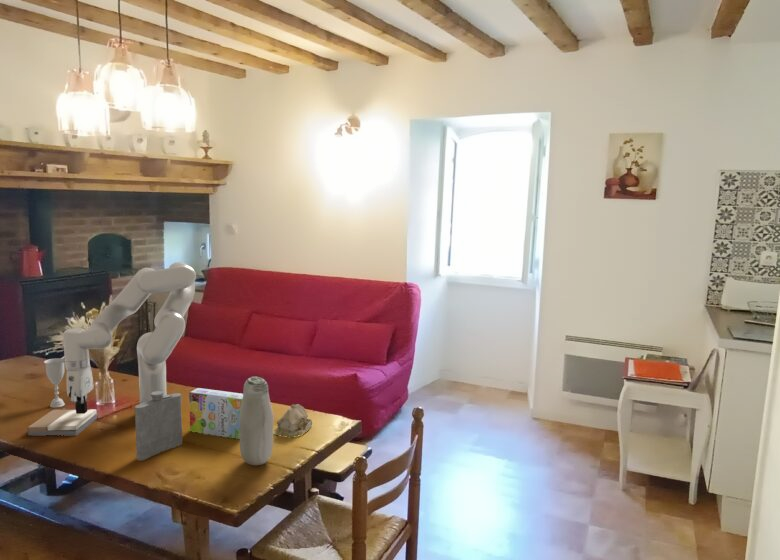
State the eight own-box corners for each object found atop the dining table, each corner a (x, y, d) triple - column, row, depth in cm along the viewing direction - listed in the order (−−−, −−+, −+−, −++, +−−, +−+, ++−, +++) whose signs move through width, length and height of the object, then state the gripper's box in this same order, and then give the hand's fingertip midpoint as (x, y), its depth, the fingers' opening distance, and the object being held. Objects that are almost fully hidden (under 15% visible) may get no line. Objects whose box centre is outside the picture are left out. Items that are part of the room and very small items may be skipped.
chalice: (71, 402, 221) (69, 358, 218) (60, 408, 214) (57, 364, 211) (54, 401, 221) (52, 357, 219) (42, 407, 215) (39, 362, 212)
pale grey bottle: (279, 462, 177) (279, 378, 172) (251, 473, 169) (251, 385, 165) (260, 452, 183) (260, 370, 179) (233, 462, 176) (232, 377, 171)
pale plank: (96, 413, 206) (96, 409, 206) (76, 429, 191) (75, 425, 191) (70, 413, 206) (69, 409, 205) (47, 430, 191) (47, 426, 191)
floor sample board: (97, 417, 207) (97, 409, 206) (76, 435, 191) (75, 427, 191) (53, 417, 206) (53, 409, 206) (28, 435, 190) (27, 427, 190)
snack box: (250, 434, 197) (250, 393, 194) (241, 441, 191) (241, 399, 189) (198, 426, 202) (197, 386, 200) (188, 432, 197) (187, 391, 195)
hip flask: (140, 461, 174) (138, 401, 171) (133, 458, 177) (130, 398, 174) (184, 444, 187) (182, 387, 185) (176, 440, 190) (175, 384, 187)
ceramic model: (293, 441, 193) (293, 414, 191) (268, 434, 198) (268, 407, 196) (317, 427, 205) (317, 401, 203) (292, 420, 210) (293, 395, 208)
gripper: (77, 370, 188) (82, 421, 191) (98, 357, 203) (102, 404, 206) (55, 370, 188) (59, 421, 191) (77, 357, 203) (81, 404, 206)
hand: (81, 412), depth 198 cm, fingers closed
